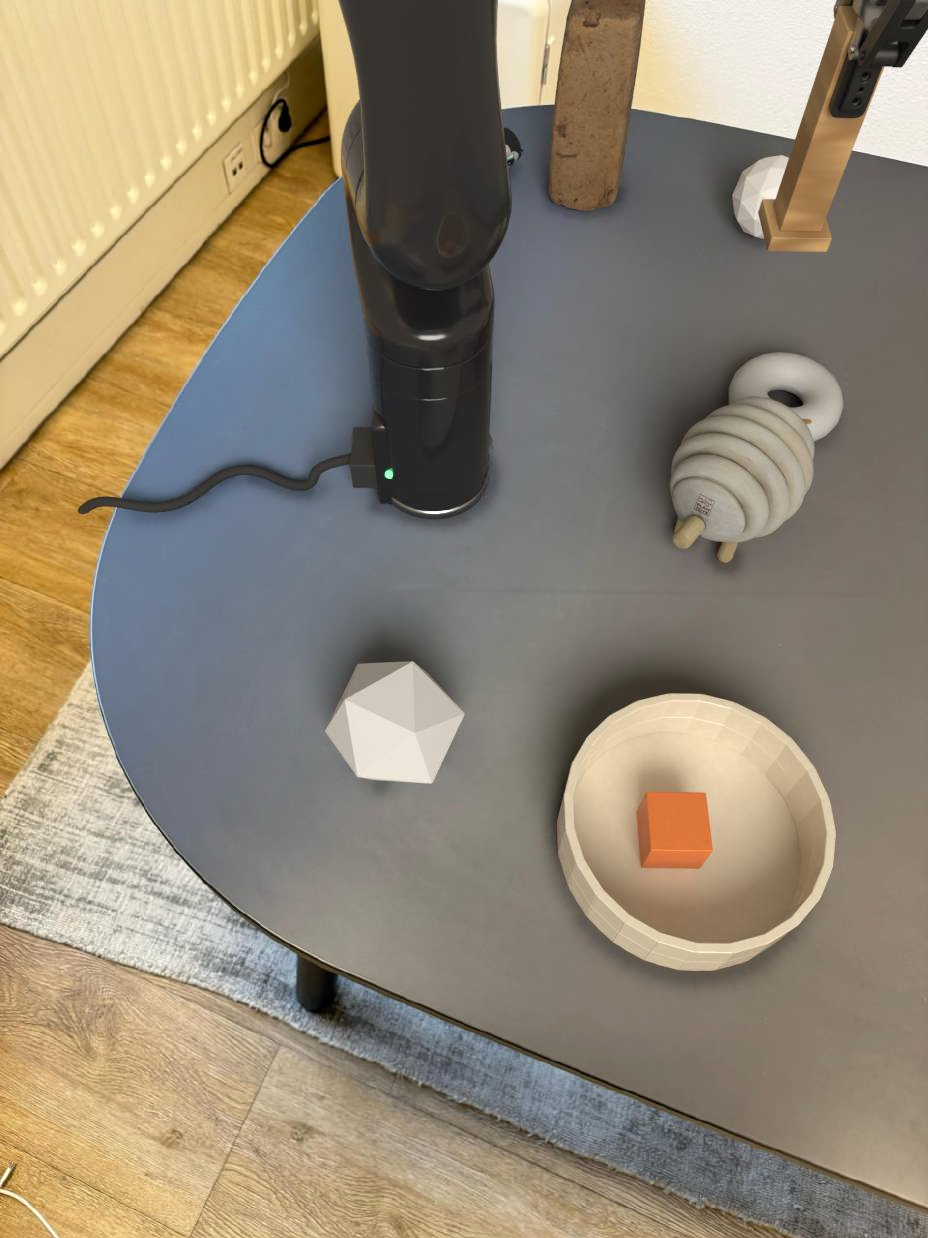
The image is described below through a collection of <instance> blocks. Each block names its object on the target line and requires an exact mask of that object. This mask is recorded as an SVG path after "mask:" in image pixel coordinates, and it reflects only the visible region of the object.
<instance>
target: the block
mask: <svg viewBox="0 0 928 1238" xmlns="http://www.w3.org/2000/svg"><path fill="white" fill-rule="evenodd" d="M646 2H647V0H571V1H570V4H569V8H568V11H567V15H566V19H565V27H564V32H563V37H562V38H563V39H562V44H561V51H560V58H559V64H558V71H557V80H556V87H555V88H556V89H555V95H554V97H555V98H554V105H553V114H552V115H553V116H552V125H551V136H550V137H551V139H550V149H549V150H550V152H549V165H548V195H549V197H550V200H551V201H552V202H553V203H554V204H555V205H557V206H563V207H565V208H567V209H571V210H576V211H582V212H594V211H595V210H598V209H601V208H607V207H611V206H612V205H613V204H615V202H616V200H617V197H618V193H619V189H620V184H621V178H622V173H623V167H624V159H625V153H626V147H627V142H628V134H629V128H630V121H631V115H632V114H631V113H632V107H633V100H634V94H635V88H636V87H635V86H636V80H637V75H638V74H637V73H638V66H639V59H640V53H641V43H642V36H643V27H644V17H645V12H646V11H645V10H646Z"/></svg>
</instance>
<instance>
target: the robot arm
mask: <svg viewBox="0 0 928 1238" xmlns="http://www.w3.org/2000/svg"><path fill="white" fill-rule="evenodd" d="M337 1H338V5H339V8H340V11H341V14H342V18H343V22H344V25H345V28H346V32H347V36H348V41H349V43H350V47H351V51H352V52H351V53H352V57H353V62H354V69H355V73H356V80H357V88H358V96H359V99H358V100H357V102H356V103H355V105H354V106H353V108H352V109H351V110H350V111H351V112H350V114H349V115H348V117H347V119H346V123H345V125H344V130H343V132H342V137H341V143H340V169H341V179H342V188H343V195H344V196H343V197H344V203H345V212H346V216H347V217H346V218H347V225H348V226H347V227H348V233H349V234H348V235H349V241H350V249H351V257H352V265H353V272H354V277H355V282H356V287H357V292H358V297H359V301H360V307H361V313H362V321H363V328H364V336H365V338H364V339H365V344H366V345H365V346H366V357H367V365H368V370H369V371H368V373H369V384H370V391H371V400H372V402H371V403H372V404H371V415H370V426H353V427H352V439H351V447H350V448H351V449H350V452H349V453H345V454H342V455H337V456H334V457H333V456H332V457H330V458H327V459H324V460H322V461H320V462H318V463H317V464H316V465H314V466H313V467H312V468H311V469H310V471H309V473H308V477H307V478H306V479H303V480H294V479H291V478H287V477H285V476H282V475H280V474H278V473H276V472H274V471H271V470H269V469H267V468H264V467H261V466H256V465H252V464H251V465H250V464H241V465H240V464H239V465H233V466H230V467H227V468H224V469H222V470H220V471H218V472H215V473H214V474H212V475H211V476H209V477H207V479H205V480H204V481H202V483H200V484H199V485H197V486H195V488H193V489H192V490H190V491H188V493H186V494H184V495H181V496H180V497H177V498H174V499H171V500H167V501H158V502H152V501H151V502H150V501H140V500H134V499H130V498H129V499H128V498H123V497H116V496H107V495H106V496H104V495H103V496H96V497H92V498H90V499H88V500H86V501H85V502H83V503H82V504H81V505H80V506H79V507H78V509H77V513H78V514H80V515H85V514H89V513H90V512H92V511H93V510H95V509H98V508H103V507H105V508H106V507H107V508H109V507H110V508H118V509H123V510H129V511H135V512H140V513H141V512H142V513H152V514H153V513H157V514H158V513H165V512H166V513H168V512H173V511H176V510H179V509H182V508H184V507H186V506H188V505H190V504H192V503H194V502H195V501H197V500H198V499H200V498H201V497H202V496H204V495H205V494H206V493H208V492H209V491H210V490H211V489H213V488H214V487H216V486H217V485H219V484H221V483H222V482H224V481H226V480H229V479H232V478H234V477H239V476H254V477H258V478H261V479H264V480H266V481H269V482H270V483H272V484H274V485H277V486H279V487H281V488H284V489H288V490H291V491H296V492H300V491H301V492H303V491H307V490H311V489H313V488H314V487H315V486H316V485H317V483H318V482H319V478H320V475H321V474H323V473H324V472H326V471H329V470H331V469H334V468H339V467H342V466H347V465H349V470H350V475H351V484H352V488H353V489H377V495H378V502H379V503H380V504H381V505H382V504H383V505H384V504H386V505H393V507H395V508H396V509H398V510H399V511H401V512H403V513H404V514H407V515H409V516H412V517H416V518H419V519H423V520H443V519H449V518H452V517H455V516H458V515H461V514H462V513H465V512H467V511H469V510H470V509H471V508H473V507H474V506H475V505H476V504H477V503H478V502H479V501H480V500H481V499H482V498H483V496H484V494H485V493H486V491H487V487H488V486H489V482H490V456H489V455H490V453H489V452H490V449H491V451H492V452H494V439H493V437H492V435H491V433H490V431H491V409H492V407H491V405H492V379H493V353H494V328H495V326H494V325H495V307H496V306H495V304H496V302H495V300H496V299H495V288H494V283H493V278H492V273H491V267H490V263H491V262H492V260H493V259H494V258H495V256H496V255H497V252H498V251H499V249H500V247H501V246H502V244H503V242H504V238H505V236H506V234H507V231H508V230H509V224H510V221H511V220H510V219H511V215H512V207H513V194H512V185H511V177H510V171H509V168H508V162H507V154H506V146H505V137H504V128H505V127H504V120H503V119H504V118H503V109H502V100H501V89H500V80H499V79H500V78H499V77H500V76H499V64H498V63H499V62H498V10H499V9H498V8H499V7H498V6H499V0H337ZM839 6H853V9H854V11H855V12H856V14H857V15H858V18H857V22H856V25H855V29H854V32H853V36H852V39H851V43H850V45H849V48H848V53H847V55H846V58H845V60H844V63H843V66H842V69H841V72H840V75H839V78H838V80H837V83H836V86H835V89H834V92H833V95H832V98H831V100H830V103H829V109H830V113H831V115H832V116H833V117H834V118H858V117H860V116H862V115H863V114H864V113H865V111H866V109H867V106H868V103H869V101H870V98H871V96H872V93H873V90H874V88H875V85H876V83H877V80H878V77H879V75H880V72H881V70H882V67H884V68H885V67H890V68H895V69H897V68H901V69H902V68H903V67H904V65H905V64H906V62H907V61H908V60H909V58H910V57H911V55H912V54H913V52H914V51H915V50H916V48H917V46H918V45H919V44H920V42H921V40H922V39H923V37H924V36H925V34H926V33H927V32H928V0H836V1H835V4H834V5H833V10H832V11H833V20H835V17H836V14H837V11H838V8H839ZM876 19H878V20H877V21H876V23H875V25H874V26H873V28H872V30H871V31H870V33H869V29H870V26H871V23H872V22H873V21H874V20H876ZM868 33H869V35H868Z"/></svg>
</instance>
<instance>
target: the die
mask: <svg viewBox="0 0 928 1238" xmlns="http://www.w3.org/2000/svg"><path fill="white" fill-rule="evenodd" d="M465 715H466V713H465V712H464V711H463V710H462V709H461V708H460V707H459V705H458V704H457V703H456V702H455V701H454V700H453V699H452V697H451V696H449V694H448V692H446V691H445V690H444V689H443V688H442V687H441V686H440V684H438V682H437V681H436V680H435V678H433V677H432V676H431V674H429V673H428V671H426V670H425V669H424V668H422V667H421V666H420V665H418V664H417V663H416V662H415V661H414V660H413V661H412V660H411V661H409V660H408V661H391V662H388V661H387V662H368V663H367V662H366V663H365V662H363V663H357V665H356V667H355V668H354V671H353V673H352V674H351V676H350V679H349V681H348V683H347V685H346V687H345V689H344V691H343V693H342V695H341V697H340V699H339V701H338V704H337V705H336V708H335V709H334V712H333V713H332V715H331V718H330V720H329V722H328V724H327V726H326V729H325V730H324V733H326V735H327V737H328V738H329V739H330V741H331V742H332V744H333V745H334V747H335V748H336V749H337V750H338V752H339V754H340V755H341V756H342V758H343V759H344V761H345V762H346V763H347V765H348V766H349V767H350V768H351V770H352V772H353V773H354V774H355V776H356V778H361V779H365V780H366V779H367V780H373V781H383V782H396V783H397V782H399V783H400V782H401V783H415V784H431V785H432V784H433V783H434V781H435V778H436V777H437V774H438V772H439V770H440V768H441V766H442V763H443V761H444V759H445V757H446V755H447V753H448V751H449V749H450V747H451V744H452V742H453V740H454V738H455V736H456V733H457V732H458V729H459V727H460V726H461V724H462V721H463V718H464V717H465Z"/></svg>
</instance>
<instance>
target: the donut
mask: <svg viewBox="0 0 928 1238" xmlns="http://www.w3.org/2000/svg"><path fill="white" fill-rule="evenodd" d="M840 386H841V385H840V384H839V383H838V381H837V379H836V377H835V376H834V375H833V374H832V373H831V372H830V371H829V370H828V369H827V368H826V367H825V366H824V365H823V364H821V363H819V362H818V361H815V360H814V359H812V358H810V357H808V356H805V355H800V354H798V353H793V352H782V351H777V352H770V353H762V354H760V355H758V356H756V357H754V358H751V359H749V360H747V361H746V362H745V363H744V364H743V365H742V366H741V367H739V369H737V371H736V372H735V373H734V375H733V377H732V380H731V382H730V384H729V386H728V405H729V404H731V403H732V402H734V401H736V400H738V399H741V398H744V397H752V396H756V397H765V398H769V399H771V397H770V396H769V394H768V393H769V392H773V391H784V392H787V393H791V394H793V395H794V396H795V397H797V398H798V399H799V400H800V401H801V404H802V405H801V406H796V407H791V406H788V407H789V408H791V409H792V410H793V411H794V412H796V413H797V414H798V415H799V416H800V417H801V418H802V419H810V420H811V421H812V423H810V424H807V426H808V428H809V430H810V432H811V434H812V437H813V440H814V442H816V441H819V440H821V439H823V438H825V437H826V436H827V435H828V434H829V433H830V432H831V431H832V430H833V429H834V428H835V427H836V426H837V425H838V424H839V422H840V418H841V416H842V413H843V409H844V398H843V391H842V388H841V387H840Z"/></svg>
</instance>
